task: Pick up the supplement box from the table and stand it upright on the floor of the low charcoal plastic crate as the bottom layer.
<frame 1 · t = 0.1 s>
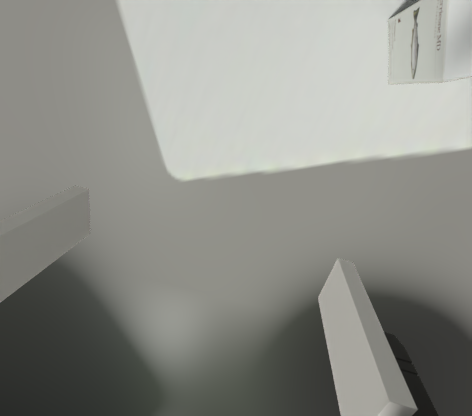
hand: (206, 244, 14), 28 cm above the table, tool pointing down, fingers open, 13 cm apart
supplement box: (418, 46, 31), on the table
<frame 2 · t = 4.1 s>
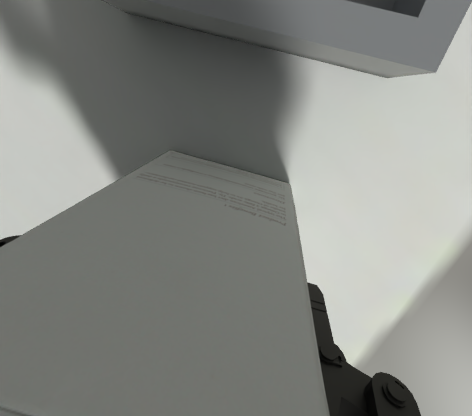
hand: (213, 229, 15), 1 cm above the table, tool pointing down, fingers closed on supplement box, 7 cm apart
supplement box: (218, 219, 16), on the table, touching gripper
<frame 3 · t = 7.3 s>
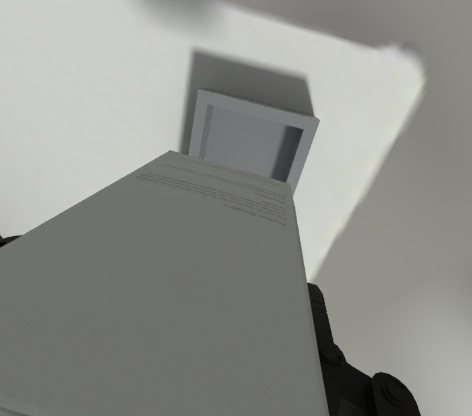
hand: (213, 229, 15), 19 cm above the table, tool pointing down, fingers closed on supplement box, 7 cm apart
crate: (247, 155, 32), on the table
supplement box: (218, 219, 16), point 17 cm above the table, touching gripper
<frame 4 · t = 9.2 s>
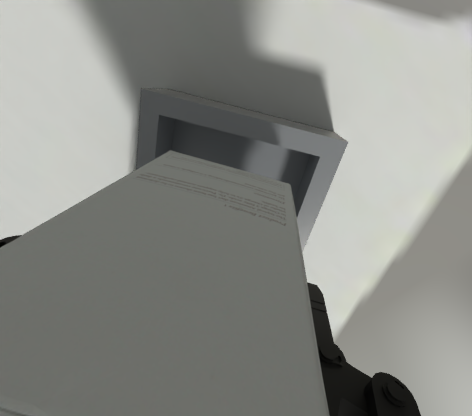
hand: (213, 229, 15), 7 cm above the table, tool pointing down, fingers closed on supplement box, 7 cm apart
crate: (231, 188, 21), on the table
supplement box: (218, 219, 16), point 6 cm above the table, touching gripper
when the fingers open (4 cm above the table, at t = 10.7 s): supplement box drops 2 cm, resting on crate.
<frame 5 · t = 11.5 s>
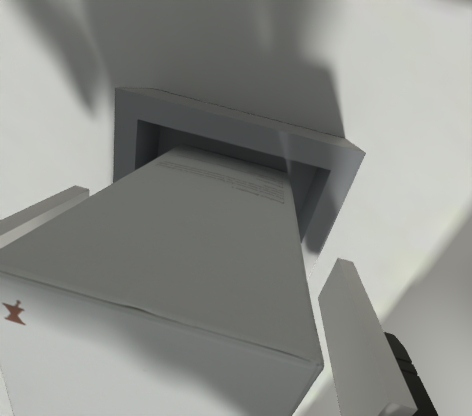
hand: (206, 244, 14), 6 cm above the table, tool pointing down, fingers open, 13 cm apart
crate: (226, 202, 19), on the table
supplement box: (224, 206, 18), point 1 cm above the table, touching crate
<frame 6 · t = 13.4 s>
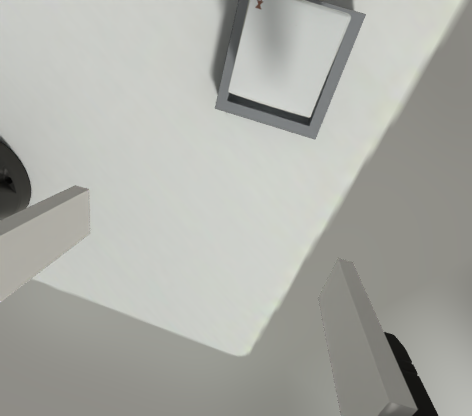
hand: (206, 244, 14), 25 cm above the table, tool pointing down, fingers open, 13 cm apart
crate: (282, 69, 32), on the table
supplement box: (282, 68, 31), point 1 cm above the table, touching crate
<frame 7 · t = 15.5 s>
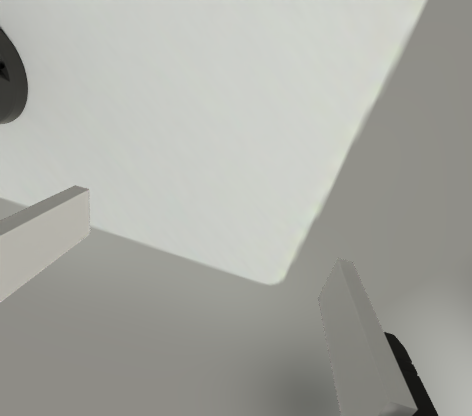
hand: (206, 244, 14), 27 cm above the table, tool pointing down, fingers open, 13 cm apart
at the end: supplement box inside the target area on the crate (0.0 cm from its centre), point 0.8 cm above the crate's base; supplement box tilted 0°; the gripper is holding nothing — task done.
